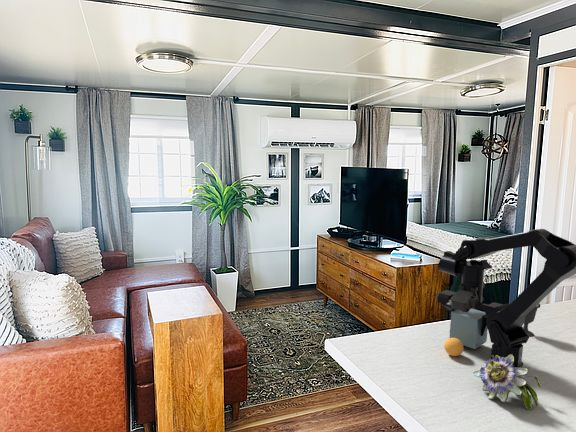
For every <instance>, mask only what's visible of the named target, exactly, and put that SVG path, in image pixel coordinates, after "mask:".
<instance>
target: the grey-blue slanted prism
mask: <svg viewBox="0 0 576 432" xmlns="http://www.w3.org/2000/svg"><path fill="white" fill-rule="evenodd" d="M483 315H485V311H483V310H482V311H481V310H480V309H470V310H469V311H468V312H462V311H460V310H457V309H456V310H454V311H452V312H451V316H450V324H449V338H457V339H459V340H460V341H461V342H462V344H463V347H464V346H465V347H468V348H471V349H473V350H477V349H478V348H479V347H481V346H482V345H483V344H485V343H486V342H487V341H488V329H487V331H486V332H485V334H484V336H481V329H482V322H483V319H482V316H483Z"/></svg>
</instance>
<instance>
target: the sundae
mask: <svg viewBox="0 0 576 432" xmlns="http://www.w3.org/2000/svg"><path fill="white" fill-rule="evenodd" d="M540 303H541V302H540ZM540 303H539V304H538V305H536V306H535V307H534V308H533V309H532V310H531V311H530V312H529V313H528V314H527V315H526V318H525V322H524V324H523V326H522V327H523V329H524V330H525V331H526V333H527V334H528V336H529V338H530V337H535V334H534V333H533V332H532V331H529V324H531V323H533V322H534V321H535V318H536V315H537V311H538V309H540V308H541V304H540Z"/></svg>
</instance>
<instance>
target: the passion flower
mask: <svg viewBox="0 0 576 432" xmlns="http://www.w3.org/2000/svg"><path fill="white" fill-rule="evenodd" d="M491 356H492V358H493V359H491V358H489V359H487V360H486V361H484V364H485V366H481V367H480V369H479V370H476V371H474V372H473V373H472V374H473V375H474V376H475V377H477V378H480V379H481V380H480V381H482V384H483V386H482V391H483V392H488V397H487V399H488V400H494V399H496V398H497V396H498V397H499V400H500V401H501V402H502V403H505V402H507V401H508V399H509V396H510V395H509V394H510V393H513V394H515V395H516V396H520V398H521V400H522V402H523V406H524V407H525V409H527V410H528V411H531V410H532V408H533V400H534V403H535V405H536V407H538V406H539V405H538V402H539V401H538V400H539V398H538V394H537V392H536V390H534V388H533V387H532V386H531V385H530V384H529V383H528V382H527V381H526V380H525V379H524V378H528V377H529V378H530V377H534V379H535V380H536V382H537V386H538V387H541V386H542V384H541V382H540V380H539V377H538V375H535V376H533V375H526V374H528V373H529V369H528V368H525V367H521V368H517V367H512V366H513V362H514V356H513V354H511V355H508V356H507V357H506V358H504V357H502V358H501V357H499V356H498V355H496V356H495V357H494V355H491V354H490V357H491ZM524 375H525V376H524ZM532 399H533V400H532Z"/></svg>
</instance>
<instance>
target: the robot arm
mask: <svg viewBox="0 0 576 432" xmlns="http://www.w3.org/2000/svg"><path fill="white" fill-rule="evenodd" d="M526 247H533V248H534V249H535V250H536V252H537V253H539V255H540V256H541V257H542V258H544V259H545V262H544V265H543V269H542V270H541V271H542V272H541V273H539V274H538V275H537V276H536V278H535V279H533V281H532V282H531V283H529V285H528V286H527V287H525V289H523V291H522V292H521V293H520V294H518V296H517V297H515V299H514V300H513V301H512V302H511V303H504V304H502V303H498V302H494V301H493V302H491V303H489V304H488V303H483V302H484V297H483V289H484V288H485V287H486V286H485V285H486V284H485V283H484V276H485V270H490V269H492V267H493V266H492V265H491V264H490V262H488V260H487V259H480V258H485V257H488V256H491V255H493V254H496V253H498V252H500V251H507V250H512V249H519V248H526ZM477 259H480V260H477ZM437 264H438V269H439V271H440V272H443V273H446V274H449V275H451V276H455V277H461V283H459V286H458V289H457V291H451V290H448V289H444V290H442V291H440V292H438V293H437V294H436V302H437V303H440V304H441V305H442V307H445V308H446V309H447V310H448V314H449V315H450V317H451V312H452V311H454V310H456V309H457V310H460V311H462V312H468V311H469V310H470V309H475V310H479V311H481V310H482V311H483V312H485V315H483V316H482V319H483V322H482V329H481V336H484V334H485V332H486V331H487V329H488V331H487V333H488V334H489V340H490V343H492V344H491V349H490V351H491V352H490V359H491V360H492V359H493V358H492V356H491V355H494V357H495V356H496V355H498V356H499V357H501V358H502V357H504V358H506V357H507V356H508V355H511V354H513V356H514V362H513V366H512V367H517V368H523V366H524V362H523V361H522V359H523V350H524V349H523V348H524V344H527V342H528V341H529V339H530V337H529V336H528V334H527V333H526V331H525V330H524V329H523V327H524V322H525V318H526V315H527V314H528V313H529V312H530V311H531V310H532V309H533V308H534V307H535V306H536V305H538V304H539V303H541V302H542V301H543V300H544V299H545V298H546V297H547V296H549V294H551V293H552V291H553V290H554V289H555V288H557V287H558V285H560V284H561V283H562V282H563V281H564V280H567V279H569V278H570V277H573V276H574V275H576V244H575V243H573V242H571V241H570V240H567V239H565V238H563V237H560V236H558V235H556V234H554V233H552V232H550V230H547V229H545V228H537V229H531V230H528V231H525V232H520V233H514V234H511V235H510V234H508V235H504V236H499V237H475V238H468V239H464V240H462V241H461V244H460V247H459V248H458V249H457V250H456V252H453V251H450V250H447V251H446V250H445V251H443V255H442V256H441V257H440V259H439V261H438V263H437Z"/></svg>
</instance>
